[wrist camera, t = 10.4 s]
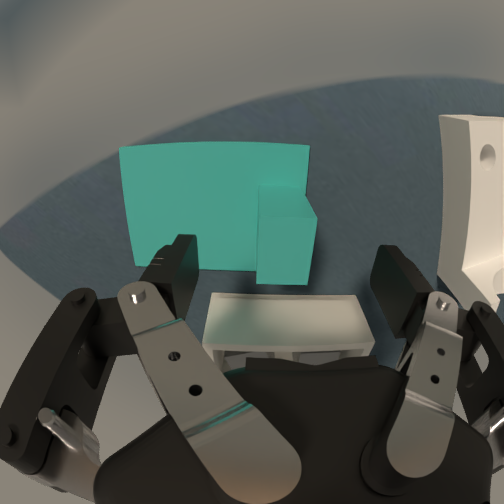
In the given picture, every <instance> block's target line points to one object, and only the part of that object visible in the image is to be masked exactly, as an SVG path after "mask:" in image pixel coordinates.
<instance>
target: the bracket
mask: <svg viewBox="0 0 504 504" xmlns="http://www.w3.org/2000/svg"><path fill="white" fill-rule="evenodd" d="M439 123H440V132H441V143H442V158H443V220H442V234H441V246H440V255H439V263H438V270H437V275H438V276H439V277H440V278H441V280H442V281H443V282H444V283H445V284H446V286H447V287H448V288H449V289H450V291H451V292H452V293H453V295H454V296H455V297H456V298H457V300H458V301H459V302H460V304H461V305H462V306H463V308H464V309H465V310H468V311H469V310H470V308H471V306H472V304H473V302H475V301H481V302H484V303H486V304H488V305H489V306H490V307H491V308H492V309H493V310H494V311H495V313H496V310H497V308H498V305H499V302H500V299H499V298H498V296H497V295H496V294H500V293H504V118H503V117H486V116H474V115H439Z"/></svg>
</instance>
